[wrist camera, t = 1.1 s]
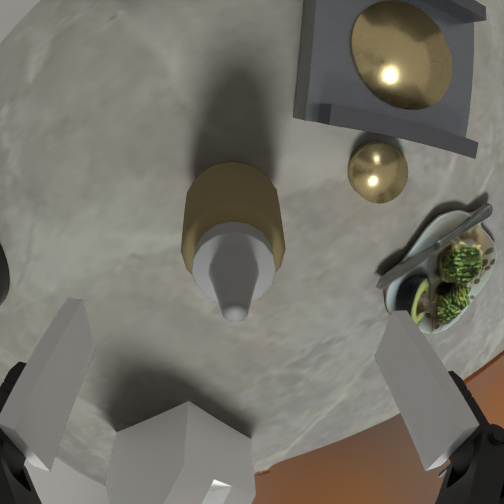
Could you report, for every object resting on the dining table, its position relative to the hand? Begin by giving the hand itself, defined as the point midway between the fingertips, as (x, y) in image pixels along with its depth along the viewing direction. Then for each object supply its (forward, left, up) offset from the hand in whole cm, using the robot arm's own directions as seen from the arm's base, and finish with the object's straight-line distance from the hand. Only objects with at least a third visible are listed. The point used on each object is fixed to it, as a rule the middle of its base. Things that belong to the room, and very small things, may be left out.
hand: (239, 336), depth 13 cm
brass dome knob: (+14, +4, -20) cm, 25 cm away
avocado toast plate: (+27, -8, -20) cm, 35 cm away
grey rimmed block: (+13, +16, -20) cm, 28 cm away
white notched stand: (-7, -43, -20) cm, 48 cm away
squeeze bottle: (0, 0, -20) cm, 20 cm away
